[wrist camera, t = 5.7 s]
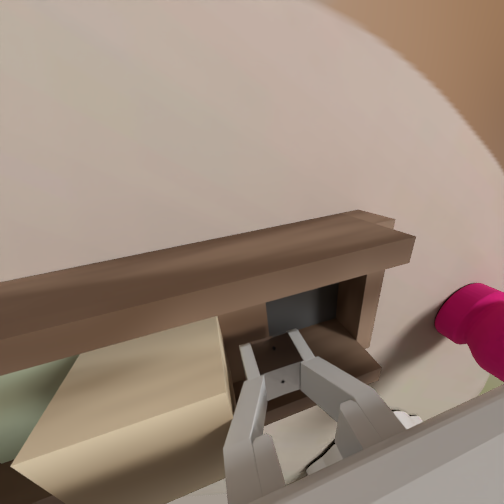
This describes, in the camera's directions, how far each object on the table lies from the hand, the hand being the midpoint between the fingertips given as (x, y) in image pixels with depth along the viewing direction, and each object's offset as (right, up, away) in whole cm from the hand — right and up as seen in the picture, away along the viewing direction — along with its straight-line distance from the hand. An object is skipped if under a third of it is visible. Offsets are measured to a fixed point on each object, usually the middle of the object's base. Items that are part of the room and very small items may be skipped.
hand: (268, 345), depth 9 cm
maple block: (-5, -1, 0) cm, 5 cm away
